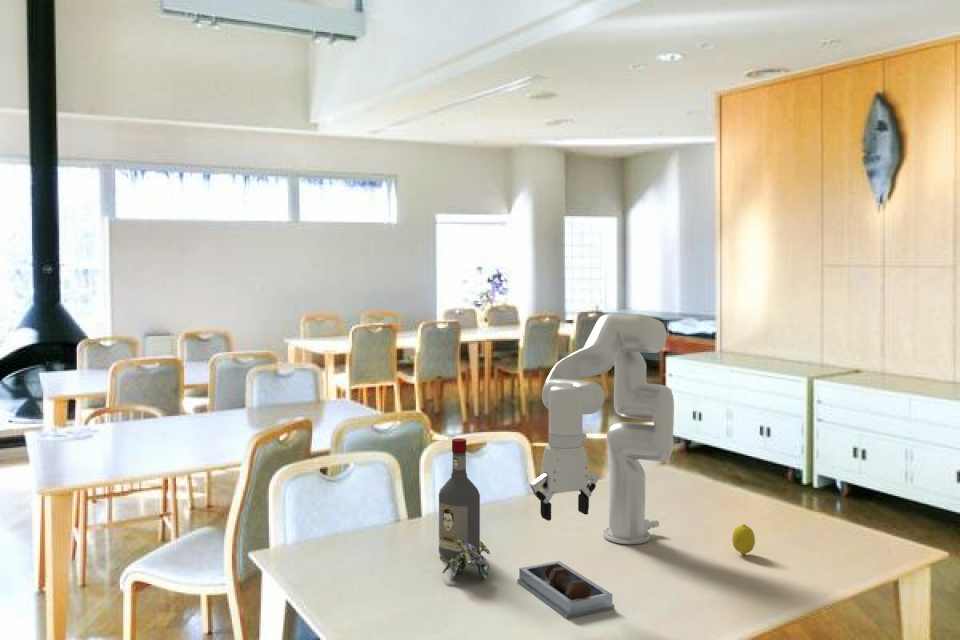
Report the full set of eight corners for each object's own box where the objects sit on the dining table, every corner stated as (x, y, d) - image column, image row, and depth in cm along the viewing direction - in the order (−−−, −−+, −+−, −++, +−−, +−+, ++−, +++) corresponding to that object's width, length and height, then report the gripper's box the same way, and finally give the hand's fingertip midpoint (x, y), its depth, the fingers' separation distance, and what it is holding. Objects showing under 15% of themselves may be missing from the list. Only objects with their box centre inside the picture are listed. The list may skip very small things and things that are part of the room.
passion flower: (482, 600, 196) (500, 570, 190) (439, 599, 192) (457, 567, 186) (473, 561, 205) (490, 530, 198) (432, 558, 201) (448, 527, 194)
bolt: (553, 587, 193) (583, 610, 179) (536, 579, 191) (565, 602, 177) (564, 564, 194) (595, 585, 180) (547, 556, 192) (577, 577, 178)
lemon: (755, 553, 213) (756, 522, 212) (753, 560, 208) (753, 529, 207) (733, 549, 215) (734, 519, 215) (730, 556, 210) (731, 526, 210)
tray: (561, 574, 198) (561, 560, 198) (614, 608, 179) (614, 593, 178) (517, 582, 193) (517, 568, 193) (567, 619, 173) (567, 603, 173)
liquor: (455, 547, 217) (455, 434, 215) (484, 554, 212) (484, 438, 210) (434, 557, 210) (433, 440, 208) (462, 564, 204) (462, 445, 202)
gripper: (588, 433, 191) (588, 506, 192) (523, 441, 183) (522, 516, 184) (607, 440, 184) (606, 515, 185) (540, 448, 176) (539, 526, 178)
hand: (564, 515), depth 185 cm, fingers open, 9 cm apart
